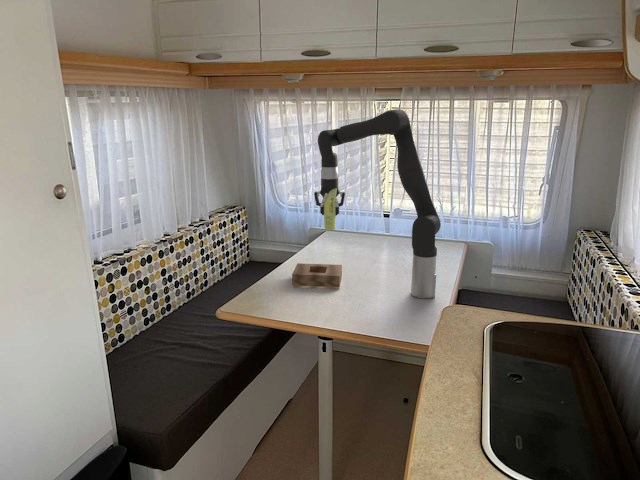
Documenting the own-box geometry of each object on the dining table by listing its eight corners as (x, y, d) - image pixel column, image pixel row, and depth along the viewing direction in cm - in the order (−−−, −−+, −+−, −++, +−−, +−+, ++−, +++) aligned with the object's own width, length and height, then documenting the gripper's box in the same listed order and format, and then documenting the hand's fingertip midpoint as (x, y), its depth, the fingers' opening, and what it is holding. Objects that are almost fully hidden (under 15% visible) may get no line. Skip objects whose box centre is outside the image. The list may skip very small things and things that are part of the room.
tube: (325, 231, 211) (324, 187, 205) (321, 228, 215) (321, 185, 210) (337, 229, 212) (337, 186, 207) (333, 227, 217) (333, 184, 211)
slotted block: (341, 277, 213) (341, 264, 212) (339, 289, 200) (339, 275, 198) (297, 275, 216) (297, 263, 214) (292, 287, 202) (292, 274, 201)
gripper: (312, 178, 205) (312, 216, 209) (345, 178, 203) (345, 217, 208) (314, 175, 212) (314, 212, 216) (346, 175, 210) (346, 213, 215)
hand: (329, 214), depth 212 cm, fingers closed on tube, 5 cm apart
